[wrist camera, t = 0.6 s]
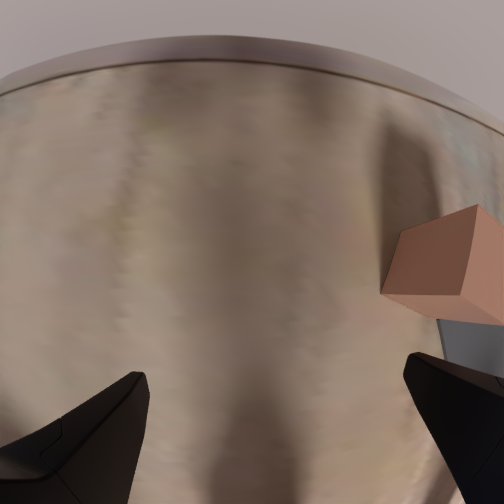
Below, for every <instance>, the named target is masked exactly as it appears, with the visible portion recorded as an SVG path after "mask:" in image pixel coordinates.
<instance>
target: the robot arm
mask: <svg viewBox="0 0 504 504" xmlns="http://www.w3.org/2000/svg"><path fill="white" fill-rule="evenodd" d="M403 377H404V380H405V383H406V385H407V387H408V389H409V392H410V394H411V396H412V398H413V401H414V403H415V405H416V408H417V410H418V412H419V413H420V415H421V417H422V419H423V421H424V422H425V424H426V426H427V428H428V430H429V431H430V433H431V435H432V437H433V439H434V441H435V443H436V444H437V446H438V448H439V450H440V452H441V454H442V456H443V458H444V460H445V462H446V464H447V466H448V468H449V470H450V472H451V474H452V476H453V478H454V480H455V482H456V484H457V486H458V488H459V490H460V492H461V495H462V497H463V499H464V501H465V503H466V504H504V378H501V377H498V376H494V375H491V374H488V373H484V372H481V371H478V370H474V369H471V368H468V367H465V366H461V365H458V364H455V363H452V362H449V361H446V360H443V359H439V358H436V357H433V356H430V355H427V354H424V353H421V352H415V353H411V354H409V356H408V358H407V361H406V365H405V368H404V372H403ZM149 400H150V392H149V388H148V384H147V379H146V375H145V373H143V372H136V371H132V372H130V373H129V374H127V375H126V376H124V377H123V378H121V379H120V380H118V381H117V382H115V383H114V384H112V385H110V386H109V387H107V388H106V389H104V390H103V391H101V392H100V393H98V394H97V395H95V396H93V397H92V398H90V399H89V400H87V401H86V402H84V403H82V404H81V405H79V406H78V407H76V408H74V409H73V410H71V411H70V412H68V413H66V414H65V415H63V416H62V417H61V419H60V418H58V419H57V420H55V421H53V422H52V423H50V424H48V425H47V426H45V427H43V428H41V429H40V430H38V431H36V432H34V433H32V434H29V435H27V436H25V437H23V438H21V439H19V440H16V441H14V442H12V443H10V444H7V445H5V446H3V447H1V448H0V504H127V503H128V499H129V494H130V490H131V486H132V482H133V478H134V474H135V470H136V466H137V462H138V458H139V454H140V450H141V447H142V443H143V439H144V434H145V427H146V420H147V413H148V406H149Z"/></svg>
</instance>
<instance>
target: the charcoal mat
mask: <svg viewBox="0 0 504 504" xmlns="http://www.w3.org/2000/svg"><path fill="white" fill-rule="evenodd" d="M437 323H438V328H439V333H440V337H441V342H442V347H443V353H444V358H445V360H446V361H449V362H452V363H455V364H458V365H461V366H465V367H468V368H471V369H474V370H478V371H481V372H484V373H488V374H491V375H494V376H498V377H501V378H504V326H501V325H491V324H481V323H471V322H462V321H453V320H444V319H437Z"/></svg>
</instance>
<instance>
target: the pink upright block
mask: <svg viewBox="0 0 504 504" xmlns="http://www.w3.org/2000/svg"><path fill="white" fill-rule="evenodd" d="M381 295H383V296H385V297H387V298H389V299H392V300H394V301H396V302H398V303H400V304H402V305H404V306H406V307H408V308H410V309H412V310H414V311H416V312H418V313H420V314H422V315H424V316H426V317H428V318H436V319H444V320H453V321H462V322H471V323H481V324H491V325H501V326H504V227H503V226H502V225H501V224H500V223H499V222H498V221H497V220H496V219H494V218H493V217H492V216H491V215H490V214H489V213H488V212H487V211H486V210H484V209H483V208H482V207H481V206H480V205H479V204H477V205H474V206H471V207H468V208H466V209H463V210H460V211H457V212H455V213H452V214H449V215H446V216H443V217H441V218H438V219H435V220H432V221H429V222H426V223H424V224H421V225H418V226H415V227H412V228H409V229H406V230H403V231H401V234H400V237H399V240H398V244H397V247H396V250H395V253H394V256H393V259H392V262H391V265H390V268H389V271H388V274H387V277H386V280H385V283H384V286H383V288H382V291H381Z"/></svg>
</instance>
